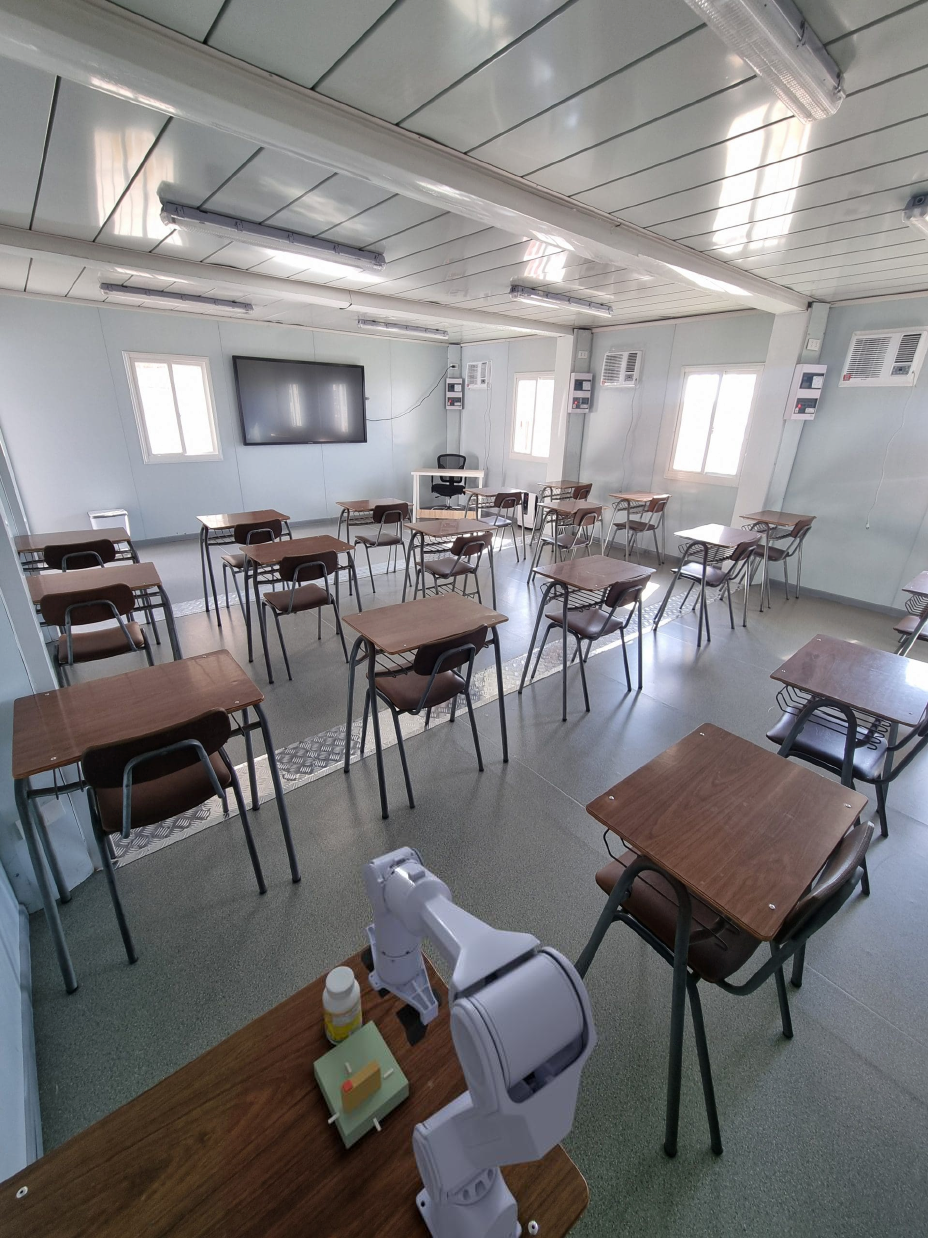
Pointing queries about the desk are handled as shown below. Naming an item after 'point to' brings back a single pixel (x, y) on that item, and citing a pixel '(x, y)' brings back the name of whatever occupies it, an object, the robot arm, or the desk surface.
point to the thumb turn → (360, 1086)
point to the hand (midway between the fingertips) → (401, 1015)
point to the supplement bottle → (341, 1005)
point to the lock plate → (345, 1065)
